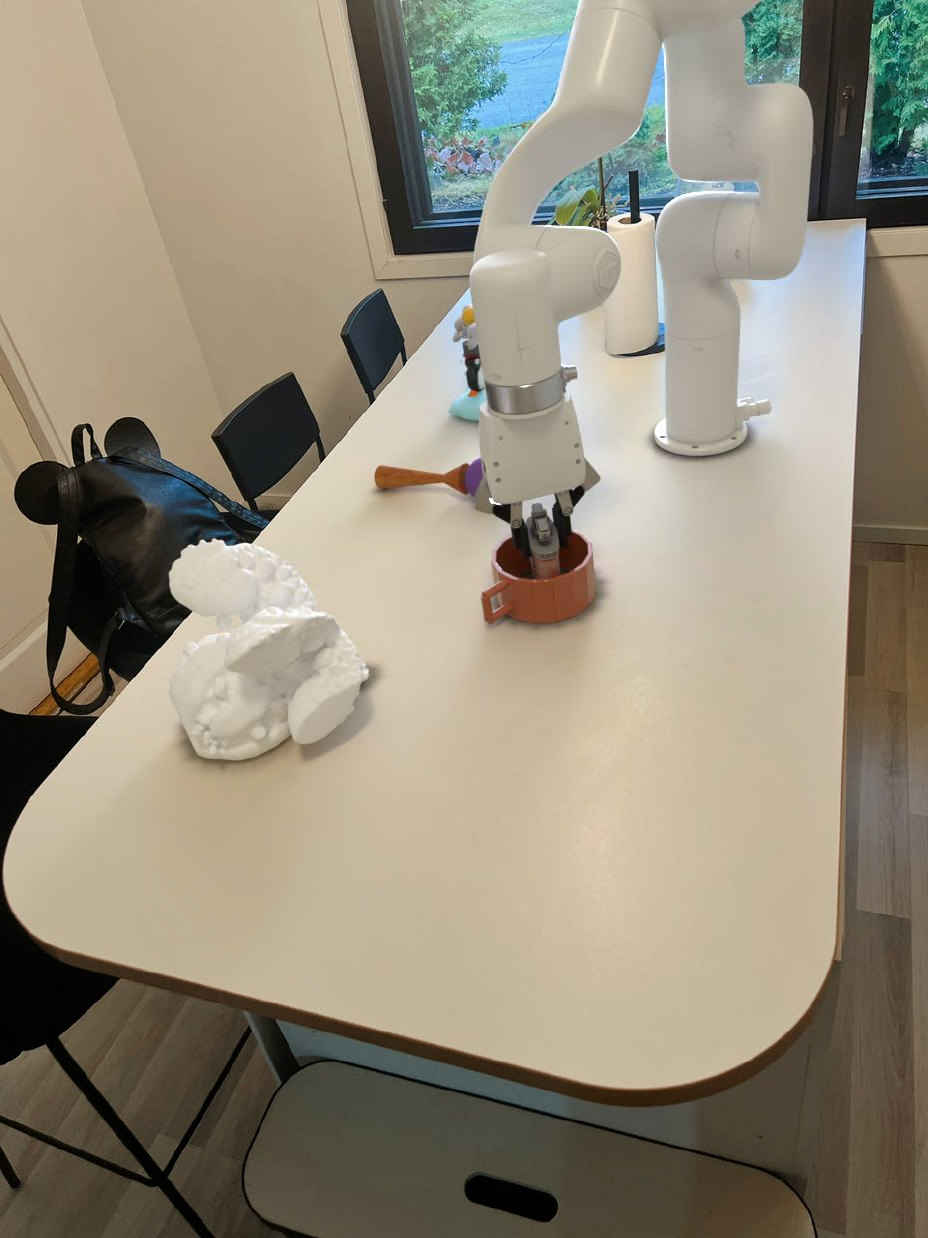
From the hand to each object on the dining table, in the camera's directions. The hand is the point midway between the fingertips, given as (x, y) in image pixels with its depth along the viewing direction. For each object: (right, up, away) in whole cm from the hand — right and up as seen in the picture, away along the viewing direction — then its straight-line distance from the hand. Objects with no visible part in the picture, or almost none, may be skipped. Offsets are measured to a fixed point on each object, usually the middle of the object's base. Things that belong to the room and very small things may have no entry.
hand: (543, 545), depth 95 cm
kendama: (-11, +9, +26) cm, 29 cm away
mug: (-1, -6, +3) cm, 7 cm away
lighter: (+1, -5, +4) cm, 6 cm away
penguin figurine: (-4, +28, +49) cm, 56 cm away
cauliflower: (-27, -18, -6) cm, 33 cm away
